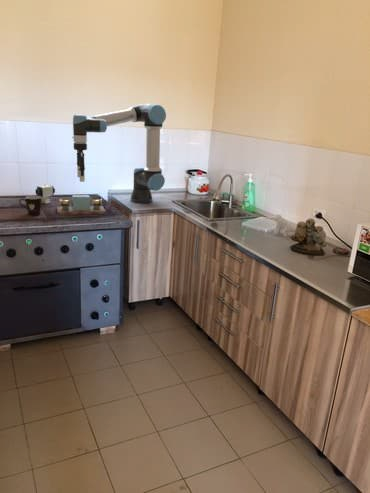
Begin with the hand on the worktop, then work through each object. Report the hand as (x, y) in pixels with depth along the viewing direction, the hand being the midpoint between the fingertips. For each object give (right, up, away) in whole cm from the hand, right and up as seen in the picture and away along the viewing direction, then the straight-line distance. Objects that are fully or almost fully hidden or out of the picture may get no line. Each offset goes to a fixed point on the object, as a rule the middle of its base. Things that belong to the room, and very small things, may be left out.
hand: (80, 179), depth 251 cm
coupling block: (-1, -17, +6) cm, 18 cm away
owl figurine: (+123, -42, -38) cm, 135 cm away
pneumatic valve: (-28, -12, +20) cm, 36 cm away
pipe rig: (-1, -17, +6) cm, 18 cm away
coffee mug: (-27, -21, -6) cm, 35 cm away
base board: (-1, -18, +6) cm, 20 cm away
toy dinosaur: (+117, -34, -14) cm, 123 cm away
